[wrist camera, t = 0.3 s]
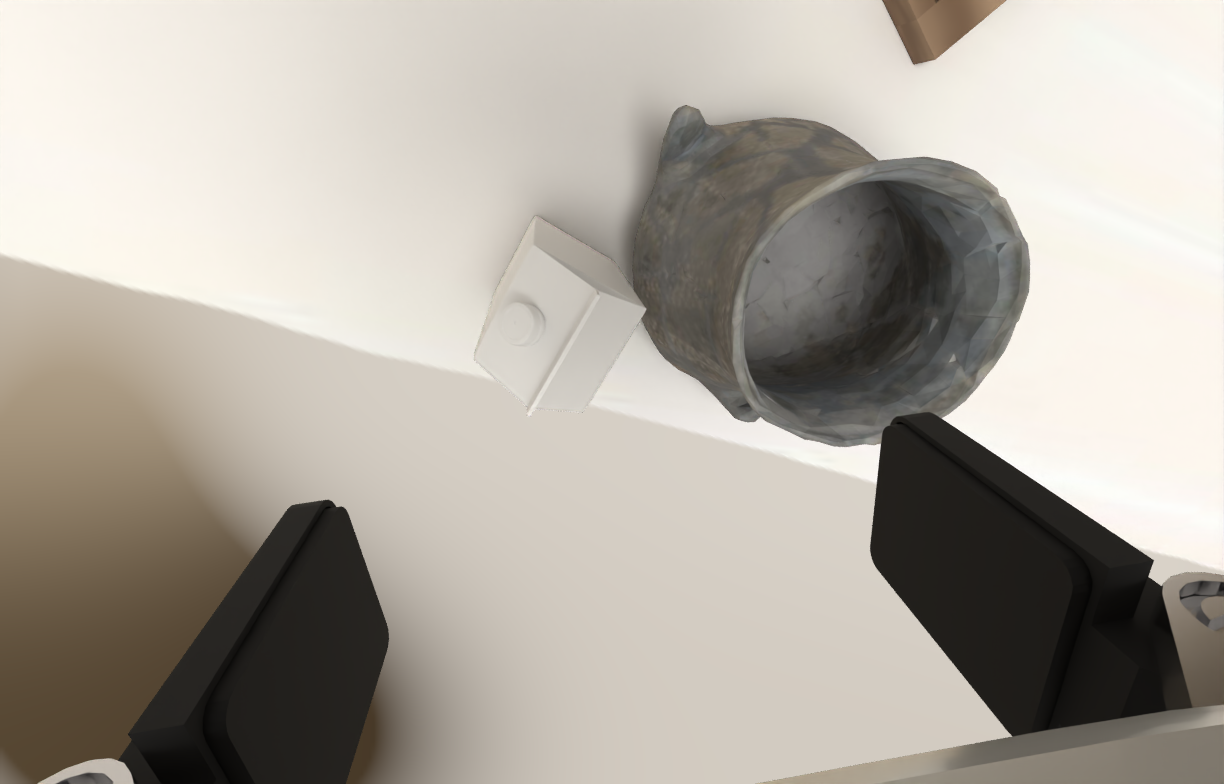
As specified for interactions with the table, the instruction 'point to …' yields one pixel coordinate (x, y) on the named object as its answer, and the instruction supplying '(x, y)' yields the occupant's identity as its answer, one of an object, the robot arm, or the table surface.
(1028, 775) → the robot arm
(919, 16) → the tray
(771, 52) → the table surface
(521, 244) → the milk carton
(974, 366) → the vessel
